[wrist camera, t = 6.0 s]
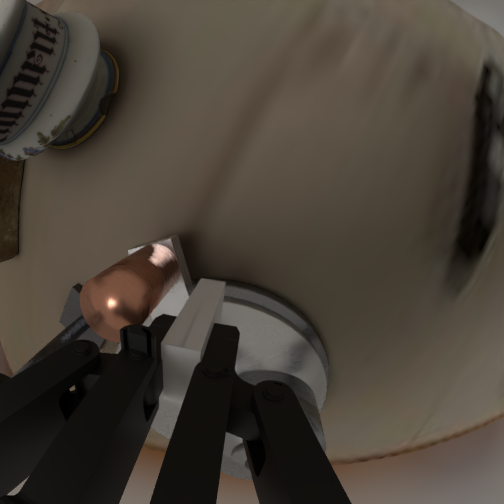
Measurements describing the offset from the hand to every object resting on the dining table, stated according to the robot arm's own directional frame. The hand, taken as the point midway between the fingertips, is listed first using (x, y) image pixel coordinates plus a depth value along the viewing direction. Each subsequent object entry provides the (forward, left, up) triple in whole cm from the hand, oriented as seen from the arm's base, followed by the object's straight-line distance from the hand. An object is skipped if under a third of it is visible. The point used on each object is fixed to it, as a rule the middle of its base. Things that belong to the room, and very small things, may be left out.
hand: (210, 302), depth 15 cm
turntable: (-4, +7, -4) cm, 9 cm away
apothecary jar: (+20, -4, -6) cm, 21 cm away
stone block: (+23, +10, -6) cm, 26 cm away
